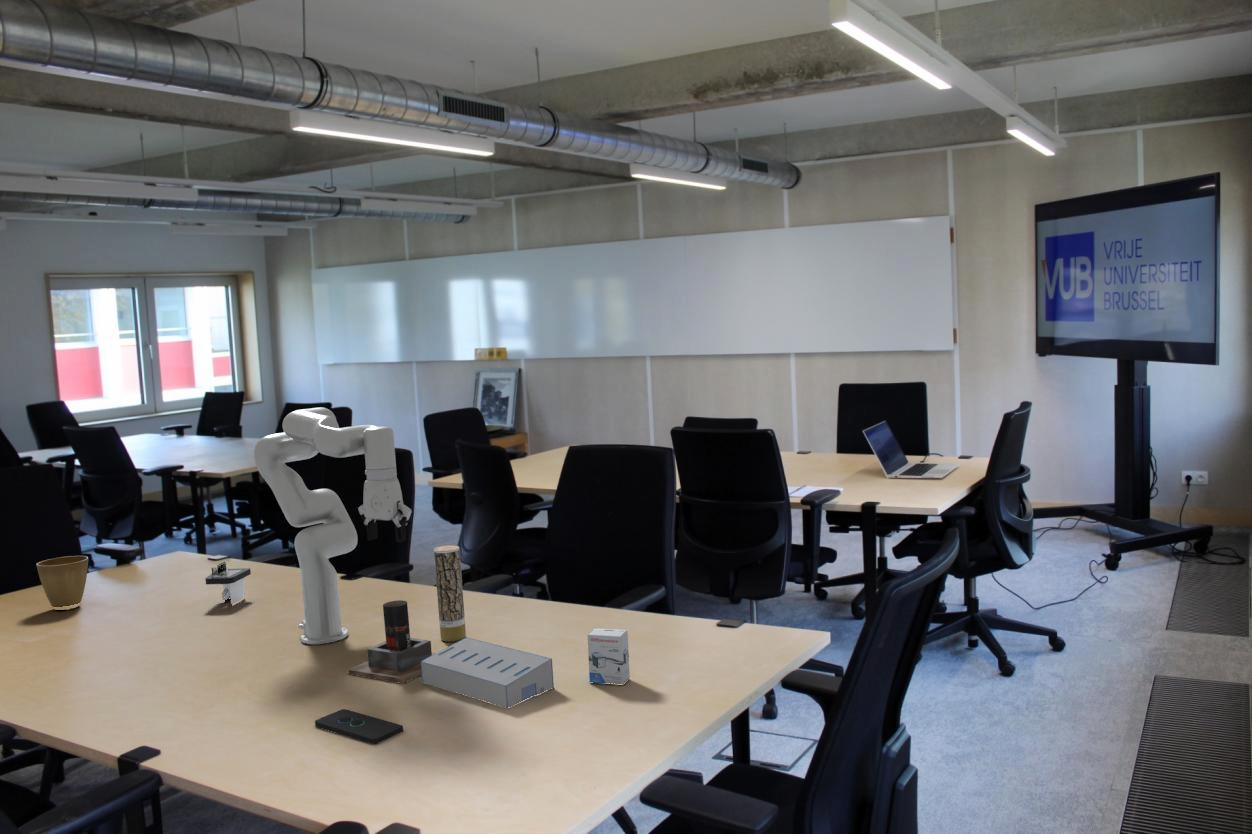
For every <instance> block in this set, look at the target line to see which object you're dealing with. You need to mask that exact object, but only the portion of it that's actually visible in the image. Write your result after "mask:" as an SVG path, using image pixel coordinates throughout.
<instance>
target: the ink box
mask: <svg viewBox="0 0 1252 834" xmlns="http://www.w3.org/2000/svg"><path fill="white" fill-rule="evenodd" d="M628 634H629V633H628V630H625V629H618V628H617V629H614V628H613V629H612V628H593V629H592V630H591V631H590V632H588V634H587V653H588V654H587V655H588V673H589V674H588V677H589V678H588V679H589V683H590V682H593V683H610V684H611V683H613V684H614V683H615V684H624V683H625V682H626V681H627V680H628V679H629V678H630V677H631V675H630V673H631V672H630V656H629V655H630V653H629V638H628V637H629V635H628ZM630 679H631V678H630Z"/></svg>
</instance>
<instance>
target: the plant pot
mask: <svg viewBox="0 0 1252 834" xmlns="http://www.w3.org/2000/svg"><path fill="white" fill-rule="evenodd" d="M88 564H89V557H88V556H86V555H73V556H72V555H69V556H68V555H67V556H61V557H55V558H49V559H46V560H42V561H39V562H36V568H37V569H36V570H37V573H38V577H39V581H40V583H41V586H42V588H43V591H44V594H45V596H46V598H47V599H48V601H49V604H50V605H51V607H52V606H53V607H63V606H70V605H74V604H78V603H80V602H81V603H82V601H83V596H84V592H85V587H86V582H87V576H88V566H89V565H88ZM81 603H80V604H81ZM53 607H52V608H53Z"/></svg>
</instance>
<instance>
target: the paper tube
mask: <svg viewBox="0 0 1252 834" xmlns="http://www.w3.org/2000/svg"><path fill="white" fill-rule="evenodd" d="M460 551H461V549H460V546H459V545H452V544H451V545H442V546H438V547H435V548H433V554H434V555H433V556H434V568H435V581H436V594H437V595H436V596H437V606H438V607H437V609H438V619H439V633H440V634H439V636H440V639H441V640H442V641H443V642H447V643H451V642H452V643H454V642H459V641H461V640H462V639H464V638H466V636H467V635H466V634H467V632H466V616H465V615H466V614H465V606H464V605H465V604H464V592H463V591H464V590H463V579H462V578H463V576H462V564H461V552H460Z"/></svg>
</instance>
